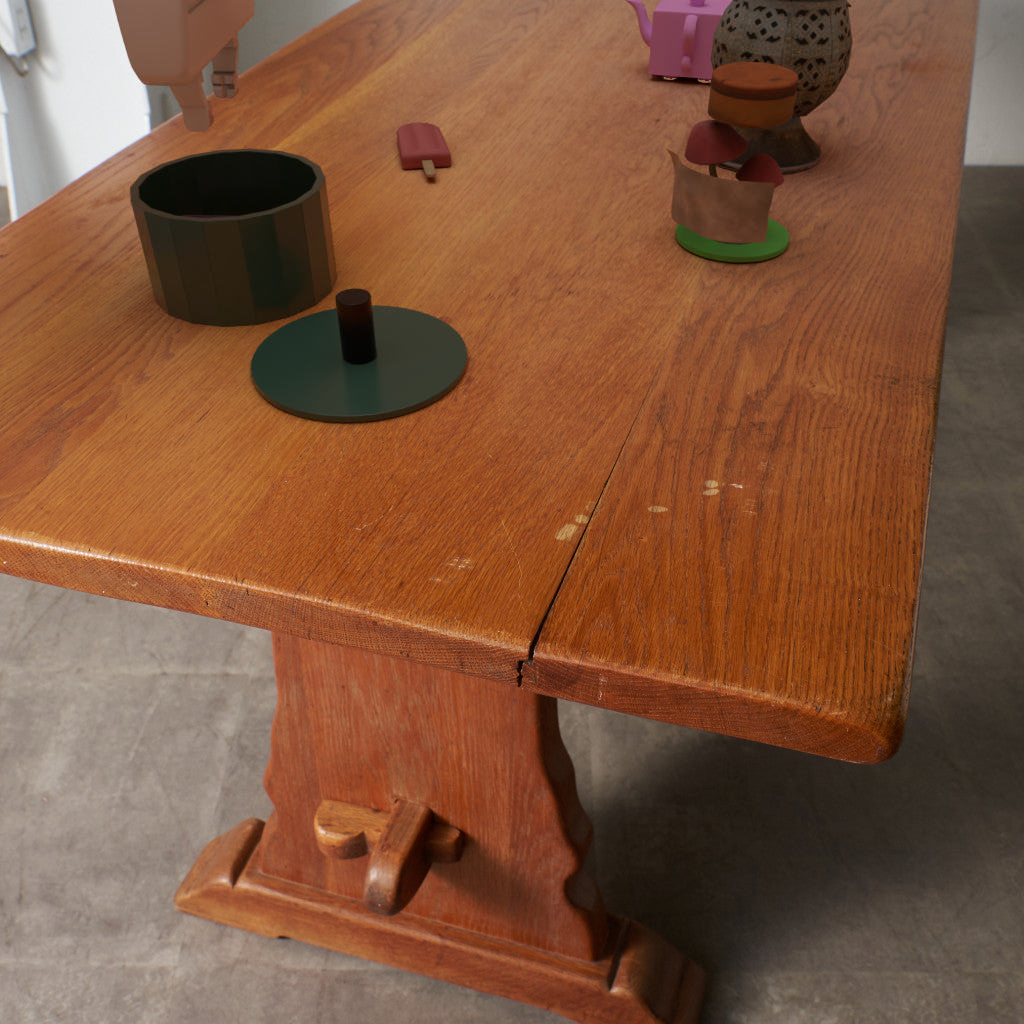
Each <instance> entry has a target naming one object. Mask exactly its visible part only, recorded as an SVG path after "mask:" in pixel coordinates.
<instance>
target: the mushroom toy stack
mask: <svg viewBox="0 0 1024 1024" xmlns="http://www.w3.org/2000/svg"><path fill="white" fill-rule="evenodd" d="M798 80H799V79H798V75H797V74H796V73H795V72H794V71H792V70H790V69H788V68H785V67H782V66H779V65H774V64H768V63H759V62H738V63H730V64H726V65H722V66H720V67H718V68H716V69H715V70H714V71H713V73H712V79H711V83H710V86H709V87H710V89H709V95H708V96H709V97H708V104H707V105H708V106H707V115H708V116H709V117H710V118H712V119H706V120H702V121H699V122H697V123H695V124H694V125H693V126H692V128H691V130H690V132H689V135H688V139H687V141H686V146H685V151H684V157H685V159H686V160H687V161H688V162H689V163H691V164H694V165H698V166H708V173H709V174H705V173H702V172H699V171H697V170H694V169H692V168H690V167H688V166H687V165H685V164H683V162H682V161H681V159H680V158H679V157H680V156H678V154H676V153H675V152H674V151H672V150H670V149H668V148H666V151H667V153H668V154H669V155H670V157H671V161H672V164H673V169H674V170H673V171H674V179H673V189H672V190H673V191H672V199H671V208H670V209H671V210H670V212H671V214H670V216H671V218H672V220H673V221H674V222H675V223H677V225H676V228H675V239H676V241H677V242H678V244H679V245H680V246H681V247H682V248H684V249H685V250H686V251H688V252H690V253H692V254H694V255H696V256H699V257H702V258H706V259H710V260H714V261H718V262H724V263H725V262H726V263H756V262H763V261H767V260H771V259H773V258H775V257H778V256H781V254H783V253H784V252H785V251H786V250H787V249H788V247H789V244H790V243H789V242H790V233H789V231H788V229H786V228H785V227H784V226H783V225H782V224H781V223H780V222H777V221H776V220H775V219H772V218H770V217H769V214H770V209H771V206H772V202H773V198H774V192H775V189H776V188H778V187H779V186H781V185H782V184H783V183H784V182H785V177H784V174H782V172H781V170H780V167H779V166H778V164H777V163H776V161H775V160H774V159H773V158H772V157H771V156H769V155H766V154H757V155H754V156H752V157H750V158H749V159H748V160H747V161H746V162H745V163H744V164H743V165H742V166H741V167H740V169H739V170H738V171H737V172H736V171H735V174H734V175H735V179H736V180H735V179H727V178H721V177H719V176H718V173H717V172H718V171H717V165H716V164H721V163H726V162H729V161H732V160H734V159H736V158H738V157H740V156H741V155H742V154H743V153H744V152H745V151H746V149H747V147H748V142H747V141H746V140H745V139H744V138H743V137H742V136H741V135H739V134H738V133H737V132H736V131H735V130H734V129H733V126H738V127H744V128H766V127H774V126H779V125H783V124H785V123H787V122H789V121H790V120H791V119H792V116H793V110H794V104H795V98H796V92H797V86H798Z"/></svg>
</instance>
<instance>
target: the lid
mask: <svg viewBox="0 0 1024 1024" xmlns="http://www.w3.org/2000/svg"><path fill="white" fill-rule="evenodd" d="M334 300H335V307H336V308H330V309H326V310H321V311H318V312H314V313H311V314H308V315H305V316H302V317H300V318H297V319H295V320H292V321H290V322H288V323H286V324H284V325H282V326H281V327H279V328H278V329H276V330H274V331H273V332H271V333H270V334H268V336H267V337H266V338H265V339H263V340H262V342H261V343H260V344H259V345H258V346H257V347H256V350H255V351H254V353H253V355H252V358H251V361H250V369H249V370H250V373H251V374H250V375H251V380H252V383H253V385H254V388H255V390H256V391H257V392H258V394H259V396H261V397H262V398H263V399H264V400H265V401H266V402H268V403H269V404H271V405H272V406H274V407H275V408H277V409H279V410H281V411H283V412H285V413H287V414H289V415H294V416H297V417H300V418H304V419H307V420H312V421H318V422H324V423H325V422H326V423H339V424H340V423H342V424H347V423H348V424H351V423H352V424H353V423H368V422H377V421H383V420H389V419H392V418H397V417H400V416H405V415H407V414H410V413H414V412H416V411H419V410H422V409H424V408H426V407H428V406H430V405H432V404H433V403H434V404H435V402H437V401H439V400H440V399H443V397H445V396H446V395H448V394H449V393H450V392H451V391H452V390H453V389H454V388H456V386H457V385H458V384H459V383H460V381H461V380H462V379H463V377H464V375H465V373H466V370H467V366H468V348H467V344H466V342H465V341H464V339H463V337H462V336H461V335H460V333H459V332H458V331H457V330H456V329H455V328H454V327H453V326H452V325H450V324H449V323H447V322H445V321H444V320H442V319H441V318H438V317H436V316H434V315H431V314H428V313H425V312H423V311H419V310H416V309H412V308H406V307H401V306H392V305H380V304H379V305H377V304H373V302H372V301H373V300H372V294H371V293H370V291H368V290H366V289H363V288H346V289H344V290H341V291H339V292H337V294H335V298H334Z"/></svg>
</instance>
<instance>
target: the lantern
mask: <svg viewBox="0 0 1024 1024" xmlns="http://www.w3.org/2000/svg"><path fill="white" fill-rule="evenodd" d="M849 8H852V4H850V3H849V2H848V0H732V2H731V3H730V4H729V5H728V7H727V8H726V9H725V11H724V13H723V15H722V17H721V20H720V22H719V24H718V26H717V28H716V31H715V33H714V36H713V45H712V53H711V63H712V67H713V71H714V70H715V69H716V68H718V67H720V66H722V65H726V64H730V63H738V62H759V63H768V64H774V65H779V66H782V67H785V68H788V69H790V70H792V71H794V72H795V73H796V74H797V75H798V79H799V80H798V86H797V92H796V98H795V104H794V110H793V116H792V119H791V120H790V121H789V122H787V123H785V124H783V125H779V126H774V127H766V128H744V127H738V126H733V129H734V130H735V131H736V132H737V133H738V134H739V135H741V136H742V137H743V138H744V139H745V140H746V141H747V142H748V147H747V149H746V151H745V152H744V153H743V154H742V155H741V156H740V157H738V158H736V159H734V160H732V161H729V162H726V163H721V164H716V167H719V168H722V169H726V170H729V171H733V172H735V173H736V172H737V171H738V170H739V169H740V167H741V166H742V165H743V164H744V163H745V162H746V161H747V160H748V159H749V158H750V157H752V156H754V155H757V154H766V155H769V156H771V157H772V158H773V159H774V160H775V161H776V163H777V164H778V166H779V167H780V170H781V172H782V174H783V175H790V174H796V173H799V172H804V171H808V170H810V169H811V168H814V167H815V166H817V165H818V163H819V161H820V159H821V156H822V150H821V147H820V145H819V144H818V143H817V142H816V141H815V140H814V139H812V137H811V136H810V134H809V133H808V132H807V130H806V129H805V126H804V125H803V122H802V119H801V117H807V116H808V115H810V114H811V113H812V112H813V111H814V110H816V109H817V108H818V107H819V106H821V105H822V104H823V103H824V102H825V101H826V100H828V99H829V98H830V97H832V96H833V94H835V92H836V91H837V89H838V87H839V85H840V84H841V82H842V80H843V78H844V76H845V75H846V73H847V72H848V70H849V68H850V61H851V54H852V49H853V43H854V42H853V34H852V33H853V32H852V27H851V26H852V25H851V18H850V10H849Z"/></svg>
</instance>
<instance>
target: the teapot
mask: <svg viewBox="0 0 1024 1024" xmlns="http://www.w3.org/2000/svg"><path fill="white" fill-rule="evenodd" d="M624 1H625V2H626V3H628V4H629V5H631V7H632V8H633V9H634V11H635V14H636V18H637V22H638V28H639V33H640V36H641V38H642V40H643V42H644V44H645V45H646V46H647V47H648V48H649V59H648V60H649V61H648V73H647V74H648V75H654V76H662V77H666V78H670V79H672V78H677V79H678V77H679V78H690V79H691V78H693V79H697V80H698V79H699V80H705V81H709V80H711V79H712V73H713V67H712V63H711V53H712V45H713V36H714V33H715V31H716V28H717V26H718V24H719V22H720V20H721V17H722V15H723V13H724V11H725V9H726V8H727V7H728V5H729V4H730V3H731V2H732V0H660V1H659V2H658V3H657V5H656V7H655V9H654V10H653V11H652V23H651V21H650V19H649V17H648V12H647V9H646V6H645V4H644V3H643V2H642V1H641V0H624Z"/></svg>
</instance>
